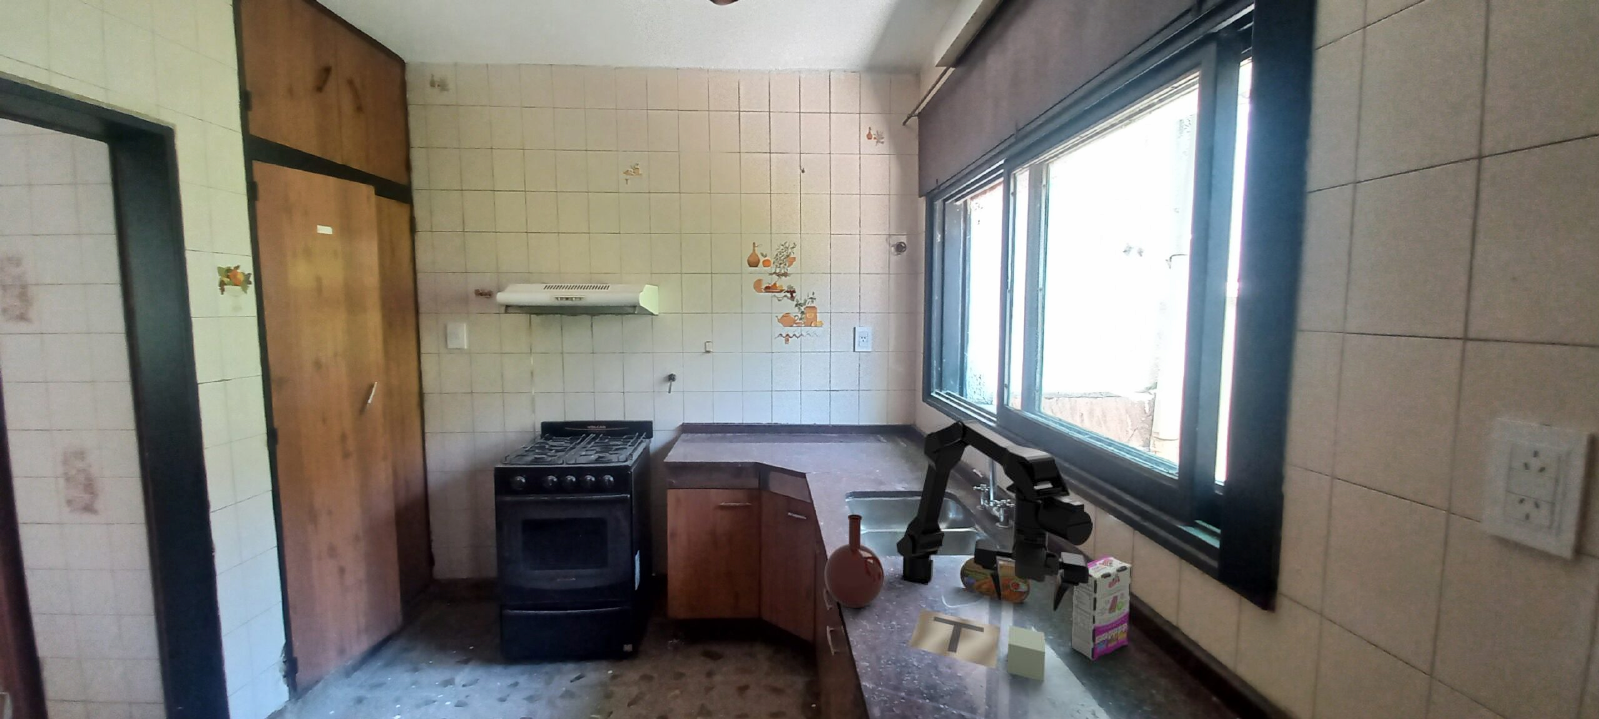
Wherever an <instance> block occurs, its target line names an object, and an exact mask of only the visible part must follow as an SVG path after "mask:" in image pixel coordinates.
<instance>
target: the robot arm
mask: <svg viewBox="0 0 1599 719" xmlns="http://www.w3.org/2000/svg"><path fill="white" fill-rule="evenodd" d="M924 441H925V442H924V450H923V453H924V456H925V458H926V461H927V464H928V465H927V470H926V474H925V478H924V482H923V487H922V493H921V496H920V499H919V500H920V501H919V505H918V509H917V513H916V516H915V517H913V519H912V520H910V522H909V523H908V524H907V526H906V529H905V532H904V535H903V537H902V538H900V539H899V540H898V541H897V542H896V545H895V546H896V550H897V553H898V555H900V556H902V574H901V576H900V580H901V581H906V582H910V583H915V584H919V585H924V586H928V585H929V582H930V581H931V580H932V579H933V576H934V560H933V559H932V556H935V555H938V553H939V550H940V548H941V547H943V541H944V538H945V532H944V531H943V530H942V529H941V526H940V524H939V519H940V514H941V511H942V506H943V504H944V503H943V502H944V498H945V494H946V491H947V486H948V482H949V479H950V474H951V472H952V470H953V469H954V468H955V467H956V466H957V465H958V463H959V462H960V461H961V459H962V458H963V454H964V452H965V450H966V448H968V447H970V446H971V447H972V448H973V449H975V450H977V451H978V452H980V453H982V454H983V455H984V456H986V457H988V458H989V459H991V460H992V461H993V462H996V463H997V464H999V465H1000V466H1001V468H1002V470H1003V473H1004V475H1005V476H1006V477H1007V478H1008V479H1009V481H1011V482H1012V483H1011V484H1009V485H1008V486H1006V487H1005V490H1006V492H1009V493H1012V494H1014V509H1013V525H1012V526H1013V528H1012V530H1013V531H1012V547H1011V550H1009V549H1003V548H998V543H999V542H998V541H996V540H995V541H994V540H989V539H983V538H978V539H977V540H976V541H975V545H974V552H973V557H974V563H975V564H977V565H981V568H982V569H984V570H987V571H988V572H989V574H990V576H991V578H992V580H993V583H994V586H995V590H996V593H997V596H998V598H997V599H998V601H1001V600H1002V599H1001V578H1000V566H999V561H1003V562H1008V563H1014V564H1015V576H1016V577H1018V578H1020V579H1029V580H1031V581H1036V582H1037V583H1044V582H1045V581H1046V576H1049V577H1053V576H1054V575H1055V576H1056V581H1055V586H1054V592H1053V593H1054V594H1053V598H1052V600H1053V601H1052V611H1053V612H1056V611H1057V610H1058V608H1059V606H1060V604H1061V602H1062V600H1063V598H1064V596H1065V594H1066V592H1067V591H1068V590H1069V589H1070V588H1071V587H1072V588H1073V586H1079V584H1080V583H1083V584H1086V583H1088V581H1089V569H1088V565H1087V563H1088V562H1087V559H1086V558H1085V556H1083V554H1076V553H1071V552H1065V551H1064V552H1063V551H1061V554H1059V553H1055V552H1051V551H1050V550H1049V549H1048V540H1049V539H1048V538H1049V537H1048V535H1050V534H1051V536H1054V537H1057V538H1058V539H1061V540H1062V541H1064V542H1066V543H1069V544H1071V545H1073V546H1076V547H1079V546H1081V545H1083V544H1086V542H1087V541H1088V540H1089V539H1090V536H1091V535H1092V532H1093V527H1094V524H1093V522H1092V521H1093V520H1092V518H1091V516H1090V514H1089V513H1088V512H1087V511H1085V504H1084V503H1082V502H1080V501H1077V500H1071V499H1069V498H1067V497H1070V496H1071V493H1070V490H1069V488H1068V486H1067V484H1066V482H1065V480H1064V478H1063V476H1062V474H1061V472H1060V470H1059V468H1058V465H1057V463H1056V460H1055V458H1054V457H1053V456H1052V454H1050V453H1048V452H1045V451H1042V450H1039V449H1036V448H1031V447H1027V446H1020V445H1017V444H1015V443H1013V442H1012V441H1010V440H1009V439H1007V438H1005V437H1003V436H1002V435H1000V434H998V433H996V432H995V431H993V430H991V429H989V428H988V427H986V426H984V425H982V423H980V421H978V420H976V419H962V420H956V421H955V422H953V423H952V424H950V425H947V426H946V427H944V428H941V429H939V430H936V431H932V432H929V433H928V434H927V435H926V437H925V440H924ZM1047 485H1048V487H1043V488H1042V486H1047ZM1049 485H1051V486H1049ZM1035 487H1036V488H1035ZM1037 487H1041V488H1037ZM1048 533H1049V534H1048Z"/></svg>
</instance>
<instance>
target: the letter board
mask: <svg viewBox="0 0 1599 719" xmlns="http://www.w3.org/2000/svg"><path fill="white" fill-rule="evenodd" d="M1000 631H1001V626H997V625H993V624H988V623H983V622H979V621H975V620H970V619H965V618H962V617H957V616H954V615H948V614H944V613H940V612H936V611H932V610H931V611H930V610H926V609H923V608H922V609H921V611H920V614H919V616H918V619H917V621H916V623H915V627H914V630H913V632H912V635H911V638H910V640H909V643H908V647H910V648H914V649H918V650H922V651H925V652H930V653H933V654H937V655H940V656H945V657H949V658H953V659H956V660H960V661H964V662H968V663H972V664H975V665H980V666H984V667H987V668H991V669H997V661H998V650H999V641H1000V640H999V639H1000Z"/></svg>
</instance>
